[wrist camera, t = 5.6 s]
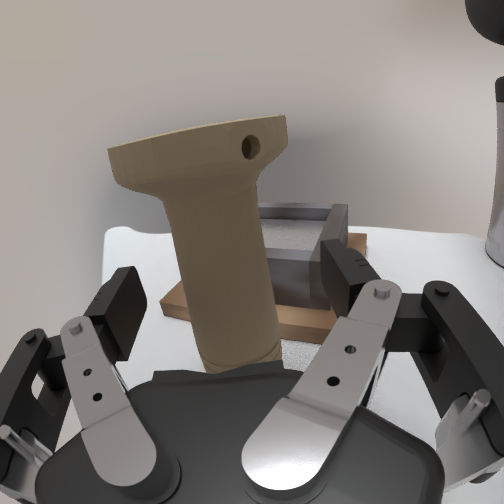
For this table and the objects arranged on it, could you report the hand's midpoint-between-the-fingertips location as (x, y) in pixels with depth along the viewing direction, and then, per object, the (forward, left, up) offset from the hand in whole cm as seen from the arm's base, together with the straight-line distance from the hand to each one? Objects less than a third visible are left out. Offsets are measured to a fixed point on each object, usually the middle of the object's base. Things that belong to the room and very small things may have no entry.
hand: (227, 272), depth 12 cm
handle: (0, 0, -9) cm, 9 cm away
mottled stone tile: (+3, -14, -6) cm, 15 cm away
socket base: (+3, -14, -9) cm, 17 cm away
